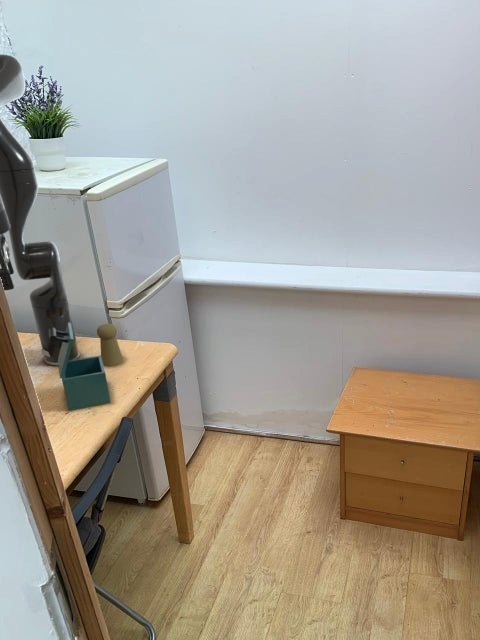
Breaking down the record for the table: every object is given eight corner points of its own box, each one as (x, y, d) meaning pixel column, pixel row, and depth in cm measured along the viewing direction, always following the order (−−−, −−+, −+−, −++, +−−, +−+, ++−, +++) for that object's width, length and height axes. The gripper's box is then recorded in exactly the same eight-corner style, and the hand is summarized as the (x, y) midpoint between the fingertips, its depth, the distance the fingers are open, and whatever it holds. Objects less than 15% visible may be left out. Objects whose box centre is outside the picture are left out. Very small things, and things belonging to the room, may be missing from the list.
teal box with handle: (71, 322, 149) (50, 318, 147) (73, 339, 141) (52, 334, 139) (61, 360, 153) (40, 356, 151) (63, 378, 145) (41, 374, 143)
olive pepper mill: (117, 367, 169) (110, 331, 163) (97, 365, 170) (90, 329, 164) (126, 357, 174) (121, 322, 168) (107, 355, 175) (100, 320, 169)
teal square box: (106, 384, 161) (100, 355, 156) (110, 403, 153) (105, 372, 148) (66, 391, 158) (59, 361, 153) (69, 410, 150) (61, 380, 145)
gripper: (3, 217, 121) (27, 291, 131) (4, 196, 132) (26, 266, 142) (-37, 223, 119) (-10, 298, 129) (-33, 201, 130) (-9, 272, 140)
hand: (9, 281), depth 135 cm, fingers open, 8 cm apart
